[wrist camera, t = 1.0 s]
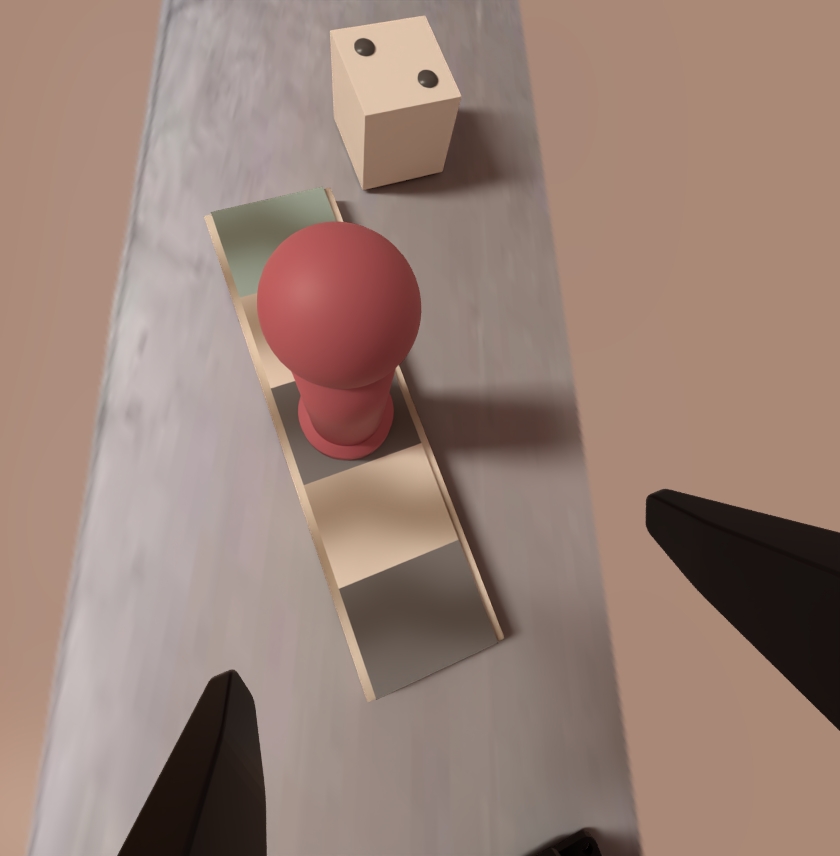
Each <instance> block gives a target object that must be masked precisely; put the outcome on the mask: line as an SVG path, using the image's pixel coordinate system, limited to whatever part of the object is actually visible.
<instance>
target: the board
mask: <svg viewBox="0 0 840 856" xmlns="http://www.w3.org/2000/svg"><path fill="white" fill-rule="evenodd" d="M211 214H212V215H209V216H204V218H205V221H206V224H207V227H208V229H209V232H210V235H211V238H212V241H213V244H214V247H215V250H216V253H217V256H218V259H219V262H220V265H221V268H222V271H223V274H224V277H225V280H226V283H227V286H228V289H229V292H230V295H231V298H232V301H233V304H234V307H235V310H236V313H237V316H238V319H239V322H240V325H241V328H242V330H243V333H244V336H245V339H246V342H247V345H248V348H249V351H250V354H251V357H252V360H253V363H254V366H255V369H256V372H257V375H258V378H259V381H260V384H261V387H262V390H263V393H264V396H265V399H266V402H267V405H268V408H269V411H270V414H271V417H272V420H273V423H274V426H275V429H276V431H277V434H278V437H279V440H280V443H281V446H282V449H283V452H284V455H285V458H286V461H287V464H288V467H289V470H290V473H291V476H292V479H293V482H294V485H295V488H296V491H297V494H298V497H299V500H300V503H301V506H302V509H303V512H304V515H305V518H306V521H307V524H308V527H309V530H310V532H311V535H312V538H313V541H314V544H315V547H316V550H317V553H318V556H319V559H320V562H321V565H322V568H323V571H324V574H325V577H326V580H327V583H328V586H329V589H330V592H331V595H332V598H333V601H334V604H335V607H336V610H337V613H338V616H339V619H340V622H341V625H342V628H343V631H344V633H345V636H346V639H347V642H348V645H349V648H350V651H351V654H352V657H353V660H354V663H355V666H356V669H357V672H358V675H359V678H360V681H361V684H362V687H363V690H364V693H365V696H366V699H367V702H369V701H371V700H373V699H376V700H377V699H379V698H381V697H383V696H386V695H388V694H390V693H392V692H394V691H396V690H398V689H400V688H403V687H405V686H407V685H409V684H411V683H413V682H415V681H418V680H420V679H422V678H424V677H426V676H428V675H430V674H432V673H435V672H437V671H439V670H441V669H443V668H445V667H447V666H450V665H452V664H454V663H456V662H458V661H460V660H462V659H464V658H467V657H469V656H471V655H473V654H475V653H477V652H479V651H482V650H484V649H486V648H488V647H490V646H492V645H494V644H496V643H498V641H499V640H502V639H504V636H503V633H502V631H501V628H500V625H499V623H498V620H497V618H496V615H495V613H494V610H493V607H492V605H491V602H490V600H489V597H488V594H487V592H486V589H485V587H484V584H483V582H482V579H481V576H480V574H479V571H478V569H477V566H476V563H475V561H474V558H473V556H472V553H471V550H470V548H469V545H468V543H467V540H466V538H465V535H464V532H463V530H462V527H461V525H460V522H459V519H458V517H457V514H456V512H455V509H454V506H453V504H452V501H451V499H450V496H449V494H448V491H447V488H446V486H445V483H444V481H443V478H442V475H441V473H440V470H439V468H438V465H437V463H436V460H435V457H434V455H433V452H432V450H431V447H430V444H429V442H428V439H427V437H426V434H425V431H424V429H423V426H422V424H421V421H420V419H419V416H418V413H417V411H416V408H415V406H414V403H413V400H412V398H411V395H410V393H409V390H408V387H407V385H406V382H405V380H404V377H403V375H402V372H401V369H400V367H399V365H398V366H397V367H396V369H395V373H394V377H393V381H392V384H391V388H390V392H389V393H390V395H391V398H392V401H393V408H394V414H393V421H392V425H391V427H390V430H389V433H388V435H387V437H386V439H385V440H384V442H383V443H382V444H381V445H380V447H379V448H378V449H376V450H375V451H374V452H373V453H371V454H369V455H368V456H365V457H363V458H360V459H356V460H346V461H344V460H337V459H332V458H330V457H327V456H325V455H323V454H322V453H320V452H319V451H317V450H316V449H315V448H314V447H313V446H312V445H311V444H310V442H309V441H308V439H307V438H306V436H305V434H304V432H303V430H302V428H301V425H300V422H299V416H298V405H299V400H300V397H301V395H300V392H299V390H298V387H297V385H296V382H295V379H294V377H293V374H292V372H291V370H289V369H288V368H287V367H286V366H285V365H284V364H283V363H281V362H280V360H279V359H278V358H277V357H276V355H275V354H274V353H273V351H272V350H271V348H270V347H269V345H268V343H267V342H266V340H265V337H264V335H263V332H262V330H261V326H260V322H259V318H258V312H257V291H258V285H259V281H260V278H261V275H262V272H263V269H264V267H265V265H266V263H267V261H268V259H269V258H270V256H271V255H272V253H273V252H274V251H275V250H276V248H277V247H278V246H279V245H280V244H281V243H282V242H283V241H284V240H285V239H287V238H288V237H289V236H290V235H292V234H294V233H295V232H297V231H299V230H301V229H303V228H306V227H308V226H311V225H314V224H318V223H323V222H334V221H337V222H343V219H342V217H341V214H340V212H339V209H338V206H337V204H336V201H335V199H334V196H333V193H332V191H331V188H327V189H324V188H323V187H319V188H315V189H311V190H306V191H302V192H297V193H293V194H289V195H284V196H280V197H275V198H271V199H267V200H262V201H258V202H254V203H249V204H245V205H240V206H236V207H232V208H227V209H223V210H218V211H214V212H211Z"/></svg>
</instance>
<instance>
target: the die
mask: <svg viewBox="0 0 840 856" xmlns="http://www.w3.org/2000/svg"><path fill="white" fill-rule="evenodd" d="M330 39H331V61H332V83H333V105H334V119H335V122H336V124H337V127H338V129H339V132H340V134H341V137H342V139H343V142H344V144H345V147H346V149H347V152H348V154H349V157H350V159H351V162H352V164H353V167H354V169H355V172H356V174H357V177H358V179H359V182H360V184H361V187H362V189H363V190H366V189H370V188H374V187H379V186H383V185H387V184H392V183H396V182H400V181H404V180H409V179H413V178H417V177H422V176H426V175H430V174H434V173H439V172H443V168H444V164H445V160H446V156H447V152H448V148H449V144H450V140H451V136H452V132H453V128H454V124H455V120H456V116H457V112H458V108H459V104H460V100H461V94H460V92H459V90H458V88H457V85H456V83H455V81H454V79H453V77H452V74H451V72H450V70H449V68H448V65H447V63H446V61H445V59H444V57H443V54H442V52H441V50H440V48H439V45H438V43H437V41H436V39H435V37H434V34H433V32H432V30H431V28H430V25H429V23H428V21H427V19H426V17H425V16H420V17H413V18H407V19H401V20H394V21H388V22H382V23H375V24H369V25H363V26H356V27H350V28H344V29H337V30H331V31H330Z"/></svg>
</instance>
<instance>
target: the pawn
mask: <svg viewBox="0 0 840 856" xmlns="http://www.w3.org/2000/svg"><path fill="white" fill-rule="evenodd" d="M257 312H258V318H259V322H260V326H261V330H262V332H263V335H264V337H265V340H266V342H267V343H268V345H269V347H270V348H271V350H272V351H273V353H274V354H275V355H276V357H277V358H278V359H279V360H280V362H281V363H283V364H284V365H285V366H286V367H287V368H288V369H289V370H291V372H292V374H293V377H294V379H295V382H296V385H297V387H298V390H299V392H300V395H301V397H300V400H299V405H298V416H299V422H300V425H301V428H302V430H303V432H304V434H305V436H306V438H307V439H308V441H309V442H310V444H311V445H312V446H313V447H314V448H315V449H316V450H317V451H319V452H320V453H322V454H323V455H325V456H327V457H330V458H332V459H337V460H344V461H346V460H356V459H360V458H363V457H365V456H368V455H369V454H371V453H373V452H374V451H375V450H376V449H378V448H379V447H380V445H381V444H382V443H383V442H384V440H385V439H386V437H387V435H388V433H389V430H390V427H391V425H392V421H393V414H394V408H393V401H392V398H391V395H390V393H389V392H390V388H391V384H392V381H393V377H394V373H395V369H396V367H397V366H398V365H399V364H400V363H401V362H402V361H403V360H404V359H405V357H406V356H407V355H408V353H409V351H410V349H411V348H412V346H413V344H414V341H415V339H416V336H417V334H418V330H419V326H420V319H421V298H420V292H419V287H418V284H417V281H416V278H415V275H414V273H413V271H412V269H411V267H410V265H409V263H408V262H407V260H406V259H405V257H404V256H403V255H402V254H401V253H400V251H399V250H398V249H397V248H396V247H395V246H394V245H393V244H392V243H391V242H390V241H389V240H387V239H386V238H384V237H383V236H382V235H380V234H378V233H377V232H375V231H373V230H371V229H368V228H366V227H363V226H361V225H357V224H354V223H348V222H337V221H334V222H323V223H318V224H314V225H311V226H308V227H306V228H303V229H301V230H299V231H297V232H295V233H294V234H292V235H290V236H289V237H288V238H287V239H285V240H284V241H283V242H282V243H281V244H280V245H279V246H278V247H277V248H276V250H275V251H274V252H273V253H272V255H271V256H270V258H269V259H268V261H267V263H266V265H265V267H264V269H263V272H262V275H261V278H260V281H259V285H258V291H257Z"/></svg>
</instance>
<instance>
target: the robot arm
mask: <svg viewBox="0 0 840 856" xmlns="http://www.w3.org/2000/svg"><path fill="white" fill-rule="evenodd" d="M646 527H647V529H648V531H649V533H650V535H651V536H652V537H653V538H654V539H655V541H656V542H657V543H658V544H659V545H660V547H661V548H662V549H663V550H664V551H665V553H666V554H667V555H668V556H669V557H670V559H671V560H672V561H673V562H674V563H675V565H676V566H677V567H678V568H679V569H680V570H681V572H682V573H683V574H684V575H685V576H686V578H687V579H688V580H689V581H690V582H691V583H692V585H693V586H694V587H695V588H696V589H697V590H698V591H699V592H700V593H701V594H702V595H703V596H704V597H705V598H706V599H707V600H708V601H709V602H710V603H711V604H712V605H713V606H714V607H715V608H716V609H717V610H718V611H719V612H720V613H721V614H722V615H723V616H724V617H725V618H726V619H727V620H728V621H729V622H730V623H731V624H732V625H733V626H734V627H735V628H736V629H737V630H738V631H739V632H740V633H741V634H742V635H743V636H744V637H745V638H746V639H747V640H748V641H749V642H750V643H751V644H752V645H753V646H755V648H756V649H757V650H758V651H759V652H760V653H761V654H762V655H763V656H765V658H766V659H767V660H769V661H770V662H771V663H772V665H774V666H775V667H776V668H777V669H778V670H779V671H780V672H781V673H782V674H783V675H784V676H785V677H786V678H787V679H788V680H789V681H790V682H791V683H792V684H793V685H794V686H795V687H796V688H797V689H798V690H799V691H800V692H801V693H802V694H803V695H804V696H805V697H806V698H807V699H808V700H809V701H810V702H811V703H812V704H813V705H814V706H815V707H816V708H817V709H818V710H819V711H820V712H821V713H822V714H823V715H825V717H826V718H827V719H828V720H829V721H830V722H831V723H832V724H833V725H834V726H835V727H836V728H837V729H838V730H839V731H840V533H839V532H835V531H831V530H827V529H824V528H820V527H815V526H812V525H807V524H804V523H800V522H796V521H792V520H788V519H784V518H780V517H776V516H772V515H768V514H764V513H760V512H756V511H752V510H748V509H744V508H740V507H736V506H732V505H729V504H724V503H720V502H717V501H713V500H709V499H705V498H701V497H697V496H693V495H689V494H685V493H681V492H677V491H673V490H669V489H662V490H659V491H657V492H654V493H652V494H650V495H648V497H647V499H646ZM585 843H589V844H588V847H587V848H586V849H585V850H582V847H583V845H584V844H585ZM117 856H267V843H266V796H265V785H264V776H263V767H262V759H261V751H260V743H259V734H258V726H257V718H256V709H255V704H254V700H253V697H252V695H251V693H250V691H249V690H248V688H247V687H246V685H245V683H244V682H243V680H242V679H241V677H240V676H239V674H238V673H237V672H236V671H235V670H229V671H226V672H224V673H221V674H219V675H217V676H214V677H213V678H212V679H211V680H210V681H209V682H208V684H207V686H206V688H205V690H204V692H203V694H202V695H201V697H200V699H199V701H198V703H197V705H196V707H195V709H194V711H193V713H192V714H191V716H190V718H189V720H188V722H187V724H186V726H185V728H184V730H183V732H182V734H181V735H180V737H179V739H178V741H177V743H176V745H175V747H174V749H173V751H172V753H171V754H170V756H169V758H168V760H167V762H166V764H165V766H164V768H163V770H162V772H161V773H160V775H159V777H158V779H157V781H156V783H155V785H154V787H153V789H152V791H151V792H150V794H149V796H148V798H147V800H146V802H145V804H144V806H143V808H142V810H141V812H140V813H139V815H138V817H137V819H136V821H135V823H134V825H133V827H132V829H131V831H130V832H129V834H128V836H127V838H126V840H125V842H124V844H123V846H122V848H121V850H120V851H119V853H118V855H117ZM536 856H602V855H601V853H600V850H599V848H598V845H597V843H596V841H595V840H594V838H593V837H592V836H591V835H590V834H589V833H588V832H587V831H580V832H578V833H576V834H575V835H573V836H571V837H569V838H568V839H566V840H564V841H563V842H561V843H559V844H557V845H556V846H554V847H552V848H548V849H546V850H545V851H543V852H541V853H540V854H538V855H536Z"/></svg>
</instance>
